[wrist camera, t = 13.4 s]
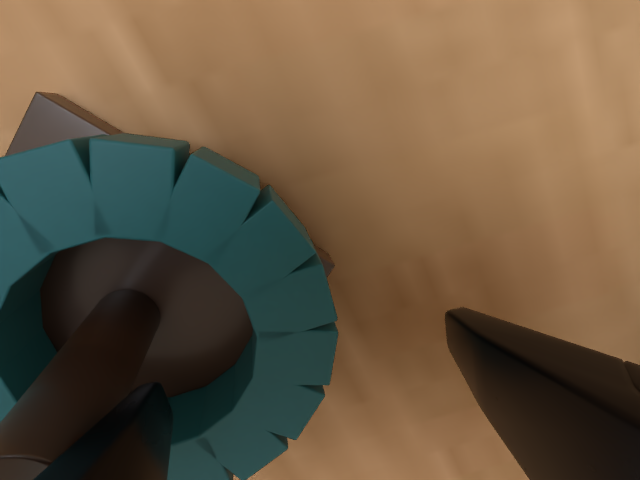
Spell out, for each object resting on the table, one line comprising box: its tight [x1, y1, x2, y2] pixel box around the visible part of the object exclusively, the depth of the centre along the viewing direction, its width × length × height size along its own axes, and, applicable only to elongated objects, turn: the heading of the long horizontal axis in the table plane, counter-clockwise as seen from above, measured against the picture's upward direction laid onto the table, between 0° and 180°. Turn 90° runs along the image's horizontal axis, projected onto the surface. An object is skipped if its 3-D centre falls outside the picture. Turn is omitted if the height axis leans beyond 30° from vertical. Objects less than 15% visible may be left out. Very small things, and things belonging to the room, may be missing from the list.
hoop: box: [0, 133, 338, 480], centre depth 12 cm, size 11×11×2 cm
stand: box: [0, 92, 335, 480], centre depth 10 cm, size 10×10×8 cm
